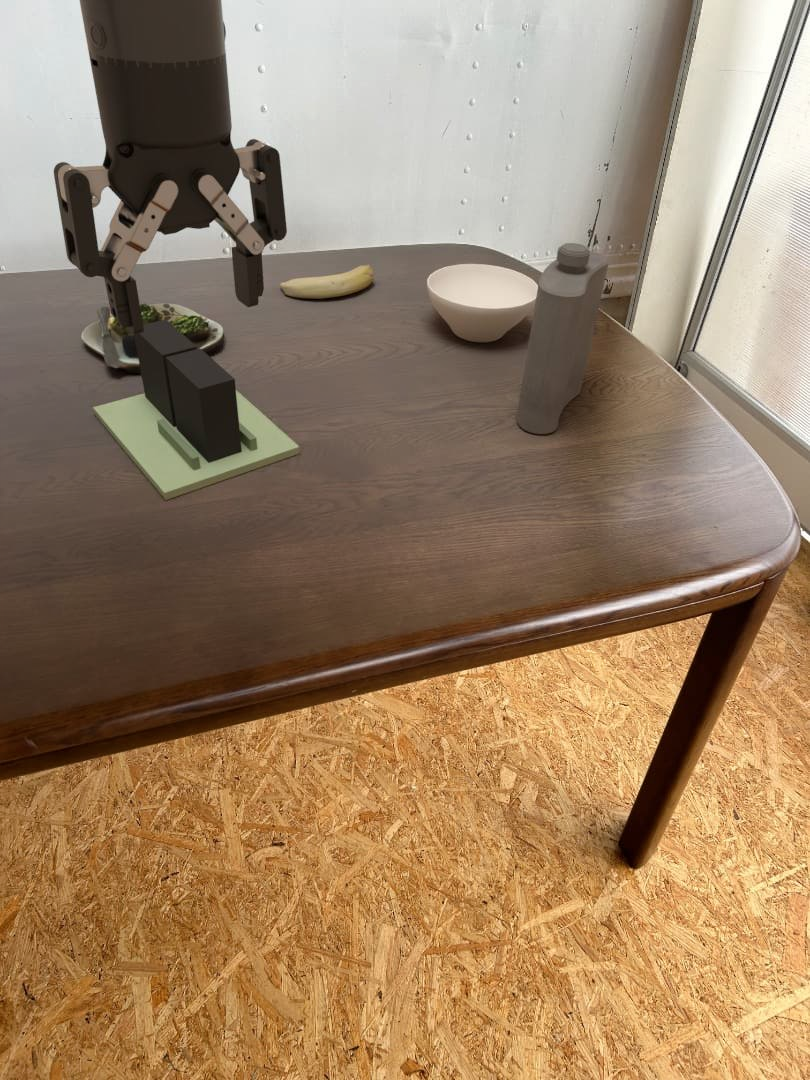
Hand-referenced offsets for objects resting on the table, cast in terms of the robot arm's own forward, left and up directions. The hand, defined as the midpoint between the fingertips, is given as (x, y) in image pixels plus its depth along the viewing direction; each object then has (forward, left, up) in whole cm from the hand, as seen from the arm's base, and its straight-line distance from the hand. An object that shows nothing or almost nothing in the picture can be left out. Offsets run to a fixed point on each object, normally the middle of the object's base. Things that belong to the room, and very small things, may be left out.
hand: (192, 315), depth 55 cm
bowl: (+46, +42, -26) cm, 68 cm away
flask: (+45, +20, -26) cm, 56 cm away
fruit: (+30, +62, -26) cm, 74 cm away
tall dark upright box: (+3, +23, -25) cm, 34 cm away
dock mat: (+2, +26, -26) cm, 37 cm away
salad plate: (+1, +50, -26) cm, 56 cm away
